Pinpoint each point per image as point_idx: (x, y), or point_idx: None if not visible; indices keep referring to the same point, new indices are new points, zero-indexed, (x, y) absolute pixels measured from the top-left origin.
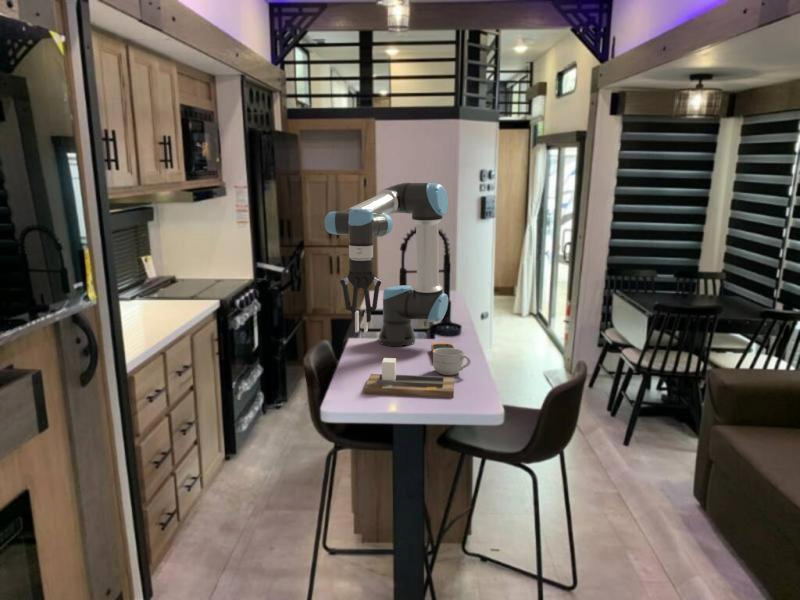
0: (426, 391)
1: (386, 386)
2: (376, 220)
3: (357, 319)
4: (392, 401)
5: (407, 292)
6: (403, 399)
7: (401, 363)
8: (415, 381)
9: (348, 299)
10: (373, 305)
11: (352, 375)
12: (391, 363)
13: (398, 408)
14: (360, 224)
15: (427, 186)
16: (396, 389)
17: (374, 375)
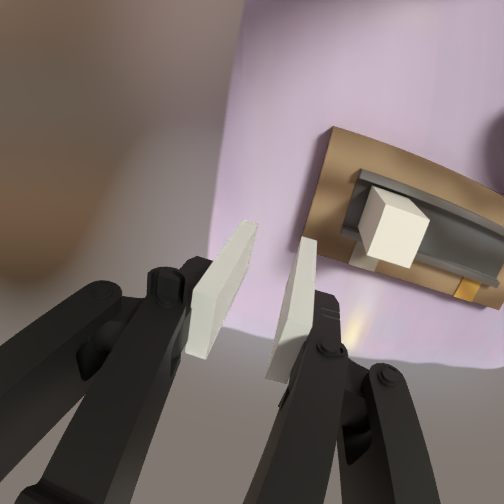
0: (452, 294)
1: (363, 256)
2: None
3: (223, 319)
4: (361, 303)
5: None
6: (391, 296)
7: (443, 4)
8: (453, 231)
9: (66, 407)
10: (348, 454)
11: (273, 78)
12: (398, 263)
13: (362, 339)
14: None
15: None
16: (386, 274)
17: (345, 145)
